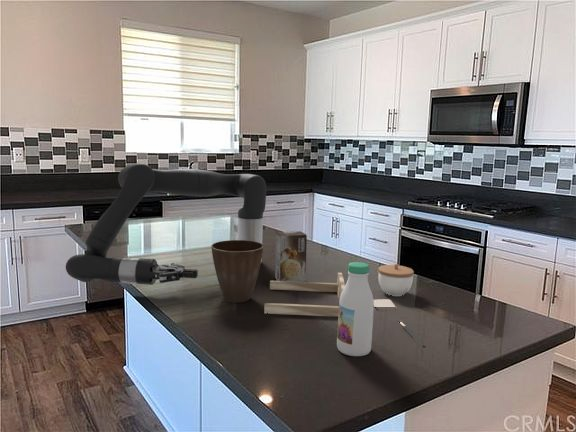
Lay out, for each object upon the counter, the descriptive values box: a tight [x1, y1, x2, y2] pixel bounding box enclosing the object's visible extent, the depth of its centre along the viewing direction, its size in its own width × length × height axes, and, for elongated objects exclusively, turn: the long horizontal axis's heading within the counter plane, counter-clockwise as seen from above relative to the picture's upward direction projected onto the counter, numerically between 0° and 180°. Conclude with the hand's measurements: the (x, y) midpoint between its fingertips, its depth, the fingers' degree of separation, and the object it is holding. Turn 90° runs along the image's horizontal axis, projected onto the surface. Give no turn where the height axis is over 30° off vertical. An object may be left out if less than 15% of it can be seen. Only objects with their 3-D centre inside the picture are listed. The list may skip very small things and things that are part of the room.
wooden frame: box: [263, 272, 346, 317], centre depth 134 cm, size 21×22×6 cm
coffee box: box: [274, 231, 308, 282], centre depth 153 cm, size 9×6×16 cm
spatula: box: [373, 298, 421, 342], centre depth 121 cm, size 6×29×2 cm, turn 9°
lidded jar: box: [377, 263, 415, 297], centre depth 143 cm, size 11×11×9 cm
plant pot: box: [210, 239, 264, 304], centre depth 134 cm, size 15×15×16 cm
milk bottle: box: [336, 261, 375, 357], centre depth 103 cm, size 8×8×20 cm
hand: (197, 273), depth 134 cm, fingers closed
